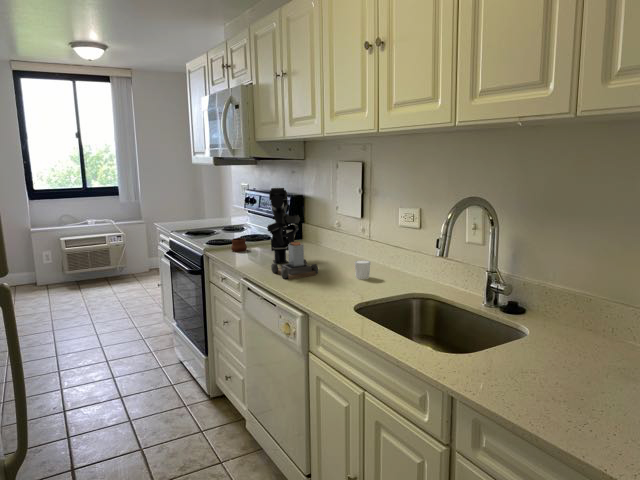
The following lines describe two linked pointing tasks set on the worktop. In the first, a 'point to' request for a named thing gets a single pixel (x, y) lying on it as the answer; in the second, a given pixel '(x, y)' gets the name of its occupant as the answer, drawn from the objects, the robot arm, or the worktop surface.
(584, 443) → the worktop surface
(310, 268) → the chassis
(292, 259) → the engine block
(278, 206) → the robot arm
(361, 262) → the shot glass
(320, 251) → the worktop surface
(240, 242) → the ceramic pot
